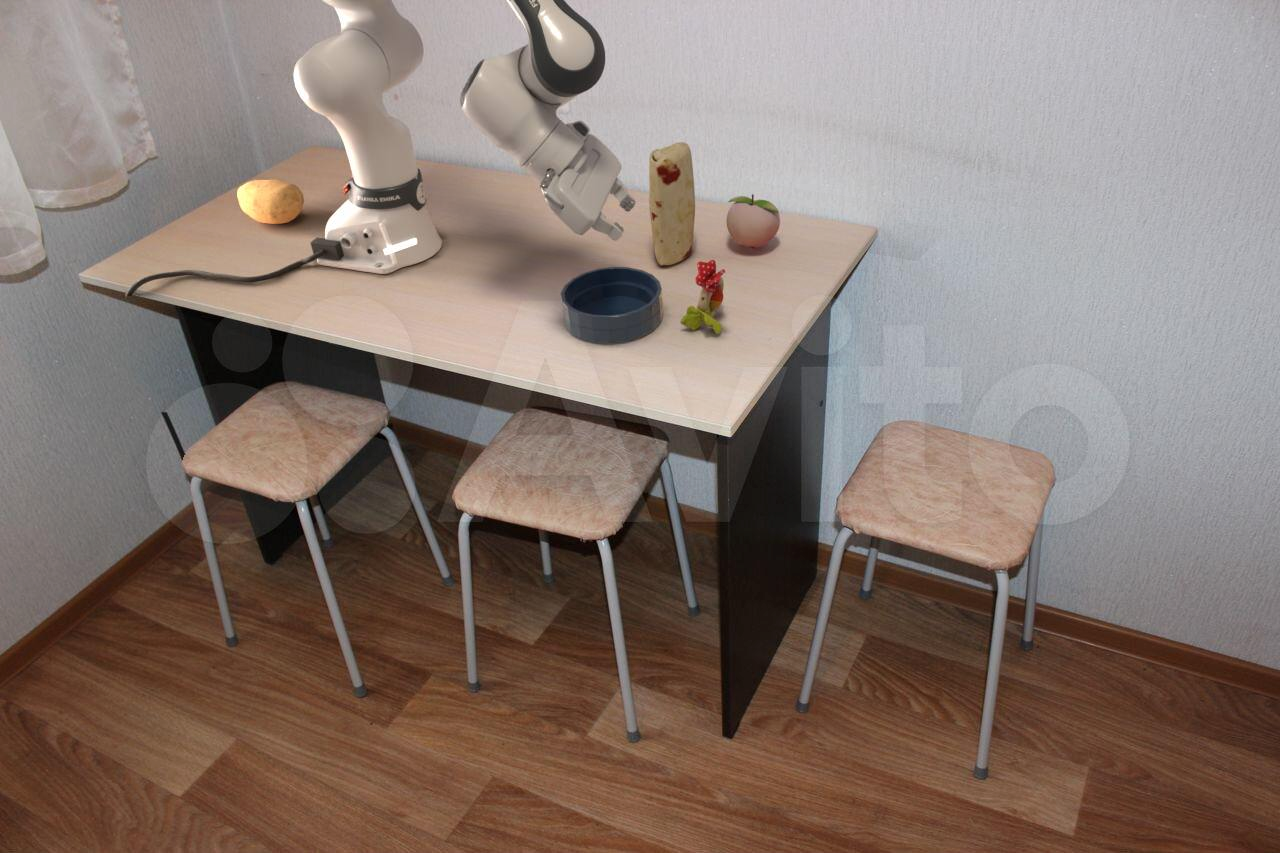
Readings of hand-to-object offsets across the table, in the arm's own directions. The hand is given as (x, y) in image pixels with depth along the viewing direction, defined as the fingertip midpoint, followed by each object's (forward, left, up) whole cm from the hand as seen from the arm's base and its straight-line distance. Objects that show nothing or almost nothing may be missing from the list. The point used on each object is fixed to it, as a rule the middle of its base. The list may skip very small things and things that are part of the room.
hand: (626, 221), depth 154 cm
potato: (-77, +31, -17) cm, 84 cm away
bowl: (-3, 0, -17) cm, 17 cm away
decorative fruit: (+16, +25, -17) cm, 34 cm away
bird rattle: (+12, 0, -17) cm, 21 cm away
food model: (+3, +21, -17) cm, 27 cm away
